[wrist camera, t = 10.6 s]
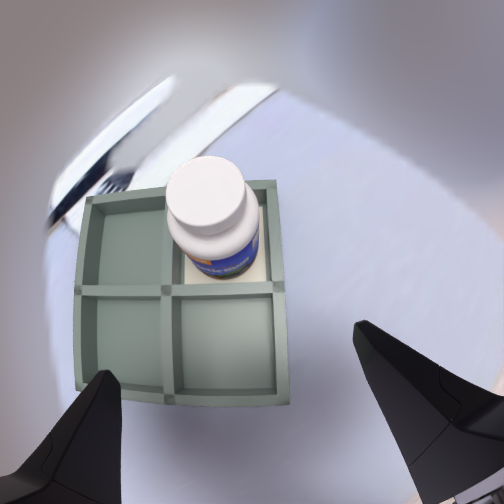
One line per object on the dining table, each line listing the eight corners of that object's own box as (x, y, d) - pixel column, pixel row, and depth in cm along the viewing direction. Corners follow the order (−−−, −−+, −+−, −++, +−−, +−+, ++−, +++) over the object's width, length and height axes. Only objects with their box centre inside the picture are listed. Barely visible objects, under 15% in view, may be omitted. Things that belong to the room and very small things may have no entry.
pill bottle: (190, 281, 22) (143, 244, 13) (193, 217, 24) (157, 149, 14) (259, 280, 22) (260, 241, 13) (258, 215, 23) (258, 142, 14)
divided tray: (285, 395, 20) (289, 404, 17) (94, 386, 20) (75, 390, 17) (274, 196, 24) (276, 179, 22) (101, 210, 25) (86, 196, 22)
